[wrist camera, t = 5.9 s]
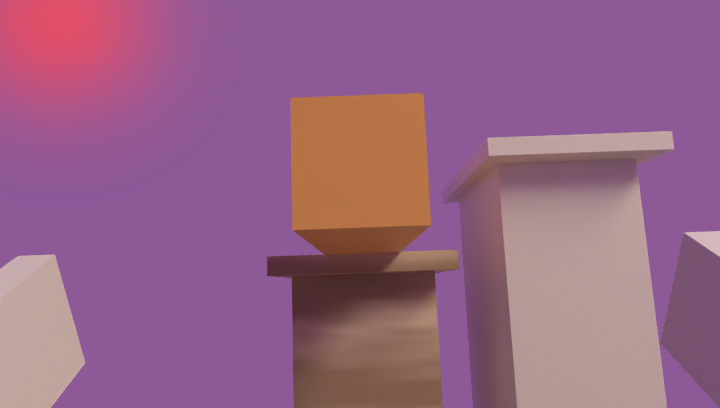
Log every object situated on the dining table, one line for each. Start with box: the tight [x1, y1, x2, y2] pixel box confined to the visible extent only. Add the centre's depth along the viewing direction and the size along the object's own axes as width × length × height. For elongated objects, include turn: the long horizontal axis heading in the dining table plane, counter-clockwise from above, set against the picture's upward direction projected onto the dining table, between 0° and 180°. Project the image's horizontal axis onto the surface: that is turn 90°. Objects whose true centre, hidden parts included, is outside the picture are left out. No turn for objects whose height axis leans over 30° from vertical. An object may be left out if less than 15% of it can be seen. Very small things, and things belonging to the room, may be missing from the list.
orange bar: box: [291, 93, 431, 255], centre depth 28 cm, size 26×5×5 cm, turn 0°
